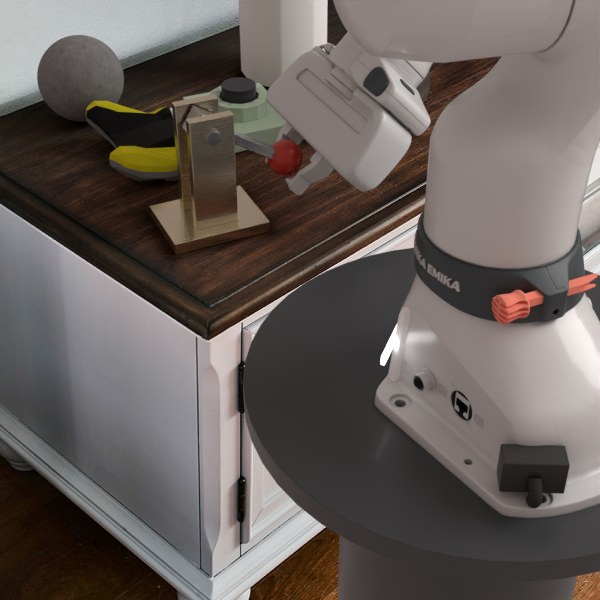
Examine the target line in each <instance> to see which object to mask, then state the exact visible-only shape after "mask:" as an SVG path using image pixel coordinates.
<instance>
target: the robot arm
mask: <svg viewBox="0 0 600 600" xmlns="http://www.w3.org/2000/svg"><path fill="white" fill-rule="evenodd" d="M332 1H333V4H334V7H335V10H336V14H337V15H338V18H339V19H340V21H341V23H342V25H343V27H344V28H345V30H346V31H347V32H346V33H345V34H344V36H343V37H342V38H341V40H340V41H339V42H338V43H337V44H336V45H335V44H333V43H331V42H327V43H326V44H324V45H320V46H315V47H314V48H313V49H312V50H311V51H309V52H306V53H304V54H303V55H301V56H300V57H299V58H298V59H297V60H295V61H294V62H293V63H292V64H291V65H290V66H289V67H288V68H287V69H286V70H285V71H284V72H283V73H282V74H281V75H280V76H279V78H278V79H277V80H276V81H275V82H274V83H273V84H272V85H271V86H270V87H268V89H267V91H268V92H267V95H266V99H265V100H266V102H267V103H268V104H269V105H270V106H271V107H272V108H273V109H274V110H275V111H276V112H277V113H278V114H279V115H280V116H281V117H282V118H283V119H284V120H285V121H286V124H285V125H284V126H283V127H282V128H281V130H280V131H279V134H278V137H277V140H276V142H277V141H280V140H290V141H293V142H294V143H296V144H297V145H298V146H299V145H300V144H301V143H302V142H303V141H305V142H306V143H308V144H309V145H310V146H311V147H312V148H313V149H314V151H315V152H314V153H313V155H312V156H311V157H310V158H309V161H310V163H308V165H306V166H304V167H303V168H301V169H299V170H297V171H296V170H295V169H294V170H293V171H292V172H291V173H290V175H287V176H286V178H285V179H284V185H286V187H287V188H288V189H289V190H290V191H292V193H294V194H295V195H296V196H301V195H303V194H304V193H305V192H306V191H307V189H308V188H309V187H310V186H311V185H313V184H315V183H317V182H320V181H322V180H324V179H325V178H328V177H329V176H330V175H331V174H332V173H333V171H334V170H335V171H336V172H337V173H338V174H339V175H340V176H341V177H342V178H343V179H344V180H345V181H347V182H348V183H349V184H350V185H351V186H353V187H354V188H355V189H357V190H358V191H359V192H361V193H366V192H369V191H371V190H373V189H375V188H377V187H378V186H379V185H380V184H381V183H382V182H383V181H384V180H385V179H386V178H387V176H389V174H390V173H392V171H393V170H394V168H395V167H396V166H397V165H398V164H399V163H400V161H401V160H402V159H403V157H404V156H405V155H406V154H407V152H408V150H409V149H410V146H411V144H412V138H413V136H411V133H412V134H414V136H415V137H416V136H418V137H419V136H421V135H422V134H423V133H424V132H425V131H426V130H427V129H428V128H429V127H430V125H431V117H430V115H429V113H428V111H427V108H426V105H425V104H424V103H423V102H422V100H421V97H420V95H419V92H418V90H417V89H416V88H417V87H418V86H419V84H420V83H421V82H422V81H423V80H424V78H425V77H426V76H427V74H428V72H429V70H430V69H431V67H432V65H433V64H434V63H437V64H446V63H448V64H449V63H455V62H464V61H465V62H466V61H472V60H473V61H474V60H480V59H490V58H498V57H500V58H499V59H498V61H497V62H496V63H495V65H493V67H491V68H492V69H490V70H489V71H488V73H487V74H485V75H484V76H483V77H482V78H481V79H479V80H478V81H477V82H475V83H474V84H473V85H472V86H470V87H469V88H467V89H465V90H464V91H462V92H461V93H460V94H459V95H457V96H456V97H455V98H454V99H452V100H451V101H450V102H449V103H448V104H447V105H446V107H444V109H443V110H442V112H441V113H440V115H439V116H438V118H437V119H436V122H435V123H434V126H433V128H432V131H431V134H430V137H429V146H428V156H427V157H428V158H427V170H426V181H425V182H426V183H425V195H424V209H423V210H422V212H421V213H420V214H419V217H418V218H417V219H418V220H417V225H416V230H415V233H414V237H413V248H414V250H415V251H414V252H415V253H414V266H415V270H416V272H417V273H416V277H415V279H414V282H413V284H412V287H411V289H410V291H409V293H408V296H407V298H406V300H405V302H404V304H403V306H402V308H401V311H400V314H399V317H398V323H397V325H396V327H395V329H394V331H393V333H392V335H391V337H390V339H389V341H388V344H387V346H386V348H385V350H384V352H383V354H382V356H381V365H385V363H386V361H387V359H388V357H389V355H390V353H391V351H392V356H391V361H390V367H389V373H388V375H387V377H386V378H385V379H384V380H383V381H382V383H381V384H380V385H379V387H378V389H377V391H376V395H375V401H374V403H375V406H376V407H377V408H378V409H379V410H380V411H381V412H382V413H383V414H384V415H385V416H387V417H388V418H389V419H390V420H391V421H392V422H394V423H395V424H396V425H397V426H398V427H399V428H400V429H402V430H403V431H404V432H405V433H406V434H407V435H409V436H410V437H411V438H412V439H413V440H414V441H416V442H417V443H418V444H419V445H420V446H421V447H422V448H424V449H425V450H426V451H427V452H428V453H429V454H431V455H432V456H433V457H434V458H435V459H436V460H438V461H439V462H440V463H441V464H442V465H443V466H444V467H446V468H447V469H448V470H449V471H450V472H451V473H453V474H454V475H455V476H456V477H457V478H458V479H460V480H461V481H462V482H463V483H464V484H465V485H467V486H468V487H469V488H470V489H471V490H472V491H473V492H475V493H476V494H477V495H478V496H479V497H480V498H482V499H483V500H484V501H485V502H486V503H487V504H489V505H490V506H491V507H492V508H493V509H495V510H496V511H497V512H499V513H500V514H502V515H504V516H509V517H517V518H543V517H553V516H558V515H564V514H568V513H572V512H576V511H580V510H583V509H586V508H589V507H592V506H594V505H597V504H600V321H599V319H598V317H597V315H596V314H595V312H594V310H593V308H592V303H591V300H590V299H589V298H588V297H587V296H586V294H585V291H586V290H588V289H591V288H593V287H595V286H596V285H595V284H588V283H590V282H591V281H592V280H594V279H595V278H597V277H598V275H599V274H598V273H596V272H595V274H590V275H587V276H585V270H586V269H585V260H584V259H585V257H584V256H585V252H584V251H585V250H584V247H583V242H582V241H583V240H582V235H581V231H580V228H579V224H580V220H581V214H582V209H583V205H584V201H585V195H586V191H587V188H588V183H589V179H590V175H591V172H592V167H593V163H594V159H595V156H596V152H597V149H598V148H599V144H600V0H332ZM323 48H324V50H325V51H324V50H322V49H323ZM410 132H411V133H410ZM264 162H265V164H266V165H267V166H268V167H269V164H268V161H267V157H265V159H264ZM586 284H588V285H586ZM392 349H393V350H392Z"/></svg>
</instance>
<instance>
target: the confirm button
mask: <svg viewBox="0 0 600 600" xmlns="http://www.w3.org/2000/svg"><path fill="white" fill-rule="evenodd" d="M220 86H221V90H222V100H223V101H225V102H228V103H232V104H244V103H249V102H252V101H254V100H255V99H256V83H255V82H254V81H253V80H251V79H249V78H247V77H230V78H226V79H225V80H223V81H222V82H221V84H220Z"/></svg>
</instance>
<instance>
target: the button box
mask: <svg viewBox="0 0 600 600" xmlns="http://www.w3.org/2000/svg"><path fill="white" fill-rule="evenodd" d="M267 92H268V89H266V87H265V86H262V85H261V84H260V83H256V99H255V100H254V101H252V102H249V103H244V104H232V103H228V102H225V101H223V100H222V90H221V85H219V86H217V87H216V88H214V89H212V90H211V91H208V92H203V93H198V94H193V95H187V96H182V100H186V99H191V98H197V97H202V96H207V95H212V94H215V95H216V96H217V97H218V106H219V113H220V112H225V111H231V112H232V114H233V116H234V131H236V132H238V133H241V134H243V135H246V136H248V137H251V138H253V139H256V140H258V141H261V142H263V143H266V144H268V145H271V146H272V145H273V144H274V143H275V142H276V140H277V137H278V134H279V131H280V130H281V128H282V127H283V126H284V125H285V124H286V121H285V120H284V119H283V118H282V117H281V116H280V115H279V114H278V113H277V112H276V111H275V110H274V109H273V108H272V107H271V106H270V105H269V104H268V103H267V102H266V100H265V99H266V95H267ZM246 151H248V150H247V149H245V148H242V147H240V146H237V145H235V154H237V153H241V152H246Z"/></svg>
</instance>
